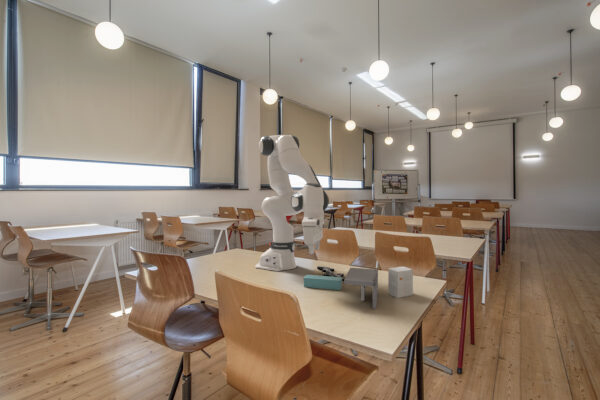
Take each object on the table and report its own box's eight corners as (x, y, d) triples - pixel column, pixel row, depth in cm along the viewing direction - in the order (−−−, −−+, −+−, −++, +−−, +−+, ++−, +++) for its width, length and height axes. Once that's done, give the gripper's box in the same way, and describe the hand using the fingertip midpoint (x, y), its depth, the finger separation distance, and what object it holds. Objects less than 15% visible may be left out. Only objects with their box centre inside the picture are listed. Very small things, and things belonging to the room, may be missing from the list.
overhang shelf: (344, 305, 108) (344, 279, 108) (350, 289, 125) (350, 267, 125) (375, 309, 105) (376, 282, 105) (377, 292, 122) (377, 269, 122)
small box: (403, 291, 124) (403, 266, 123) (413, 295, 119) (413, 269, 118) (387, 293, 121) (387, 268, 120) (397, 298, 115) (397, 271, 115)
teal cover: (303, 286, 130) (303, 277, 129) (306, 283, 134) (306, 274, 134) (340, 290, 125) (340, 280, 125) (342, 286, 130) (342, 277, 130)
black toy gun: (310, 267, 159) (327, 265, 162) (310, 270, 159) (327, 268, 162) (335, 281, 133) (354, 279, 137) (335, 285, 133) (354, 282, 137)
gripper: (312, 218, 141) (313, 247, 141) (300, 222, 121) (300, 256, 121) (325, 218, 139) (326, 247, 139) (315, 222, 119) (316, 256, 119)
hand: (314, 251), depth 130 cm, fingers open, 8 cm apart
